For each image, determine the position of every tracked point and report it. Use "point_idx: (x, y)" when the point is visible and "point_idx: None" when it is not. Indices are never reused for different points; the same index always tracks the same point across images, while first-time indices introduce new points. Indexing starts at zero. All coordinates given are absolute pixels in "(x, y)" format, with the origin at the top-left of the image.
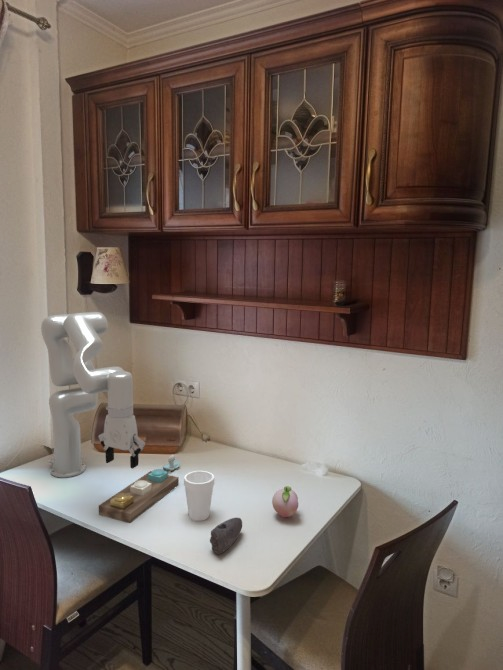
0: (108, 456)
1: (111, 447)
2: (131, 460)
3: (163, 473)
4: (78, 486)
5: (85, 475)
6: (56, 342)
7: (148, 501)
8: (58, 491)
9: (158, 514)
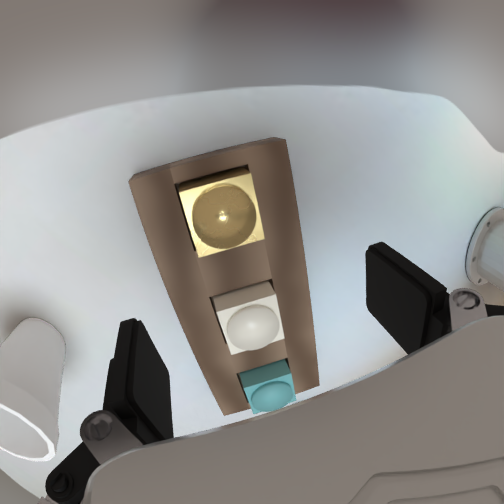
0: (396, 281)
1: (410, 354)
2: (116, 369)
3: (252, 404)
4: (440, 213)
5: (455, 260)
6: None
7: (167, 290)
8: (458, 163)
9: (113, 275)
